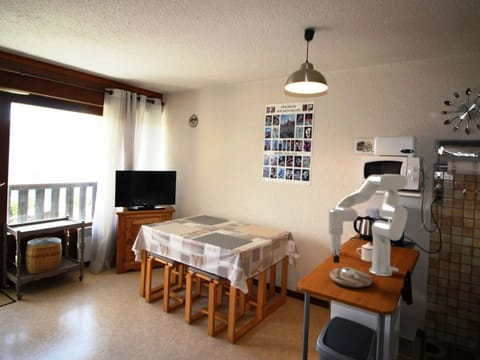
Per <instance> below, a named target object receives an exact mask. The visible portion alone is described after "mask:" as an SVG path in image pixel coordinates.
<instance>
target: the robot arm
mask: <svg viewBox="0 0 480 360" xmlns="http://www.w3.org/2000/svg"><path fill="white" fill-rule="evenodd" d="M407 184H408V179H407V177H406V176H405V175H403V174H397V173H395V174H394V173H393V174H392V173H384V174H371V175H369V176H368V177H367V178H366V179H365V180H364V181H363V182H362V183H361V185H360V186H359V187H358V188H357V189H356V191H354V192H352V193H351V194H349V195H347V196H345V197H344V198H343V199H341V200H340V201H339V202H338V204H337V205H336V207H335V208H331V209H329V211H328V233H329V234H330V251H331V253H333V257H332V258H333V260H332V261H333V263H334V264H340V262H341V261H340V253H341V251H342V235H344V222H348V223H350V222H355V221H356V220H357V218H359V217H358V215H359V214H358V211H357V210H355V208H352V207H353V206H356V205H360V204H363V203H366V202H368V201H369V200H370V199H372V197H373V196H374V195H375V193H376V192H377V191H378V190H379V191H383V197H382V200H381V204H380V207H379V212H378V214H379V217H380V218H382V219H384V220H375V221H374V222H373V223H372V225H371V234H372V246H373V257H372V262H371V267H370V268H369V269H368V271H369V273H371V274H373V275H375V276H379V277H380V276H381V277H390V276H393V272H397V273H398V272H399V268H398V267H395V266H391V240H392V241H398V240H400V239H401V238H402V236H403V233H404V230H405V228H406V227H405V226H406V224H407V221H408V220H407V219H408V210H407V209H406V207H404V206H403V205H398V204H399V199H400V193H399V191H398V190H402V189H405V188H406V187H407ZM385 220H387V221H385ZM389 221H391V222H389Z"/></svg>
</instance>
